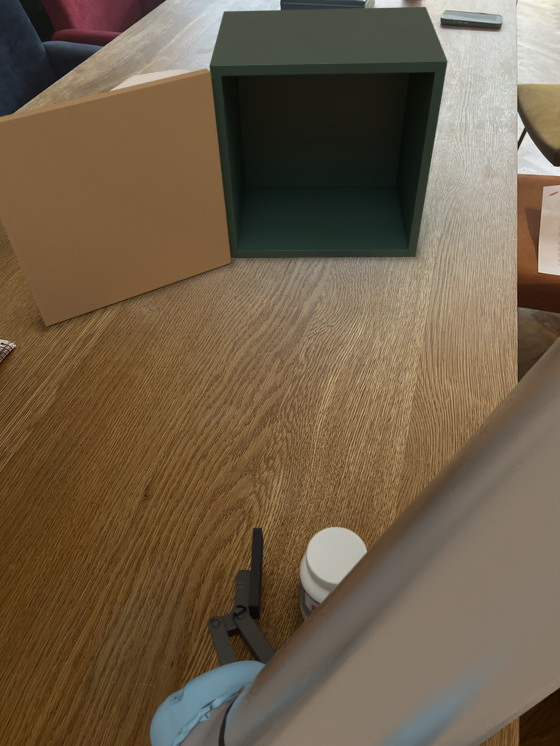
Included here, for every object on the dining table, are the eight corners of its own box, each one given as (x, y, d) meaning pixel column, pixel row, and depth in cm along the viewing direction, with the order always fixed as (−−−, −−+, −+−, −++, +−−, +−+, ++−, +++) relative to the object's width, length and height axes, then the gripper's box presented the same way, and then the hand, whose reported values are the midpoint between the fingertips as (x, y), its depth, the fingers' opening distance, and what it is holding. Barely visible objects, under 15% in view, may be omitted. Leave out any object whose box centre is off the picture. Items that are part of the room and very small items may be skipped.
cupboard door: (33, 296, 83) (-48, 104, 64) (211, 237, 91) (186, 51, 72) (46, 327, 79) (-38, 130, 60) (231, 262, 87) (210, 71, 68)
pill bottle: (348, 653, 51) (355, 605, 43) (288, 619, 53) (285, 568, 45) (376, 594, 54) (387, 541, 47) (318, 564, 56) (320, 509, 49)
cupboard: (415, 256, 87) (447, 60, 67) (230, 257, 88) (209, 65, 68) (401, 189, 99) (426, 6, 79) (239, 190, 100) (223, 11, 81)
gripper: (157, 864, 40) (196, 555, 55) (532, 876, 39) (470, 558, 54) (133, 852, 35) (184, 512, 49) (570, 866, 34) (489, 515, 48)
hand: (333, 536), depth 51 cm, fingers open, 12 cm apart
